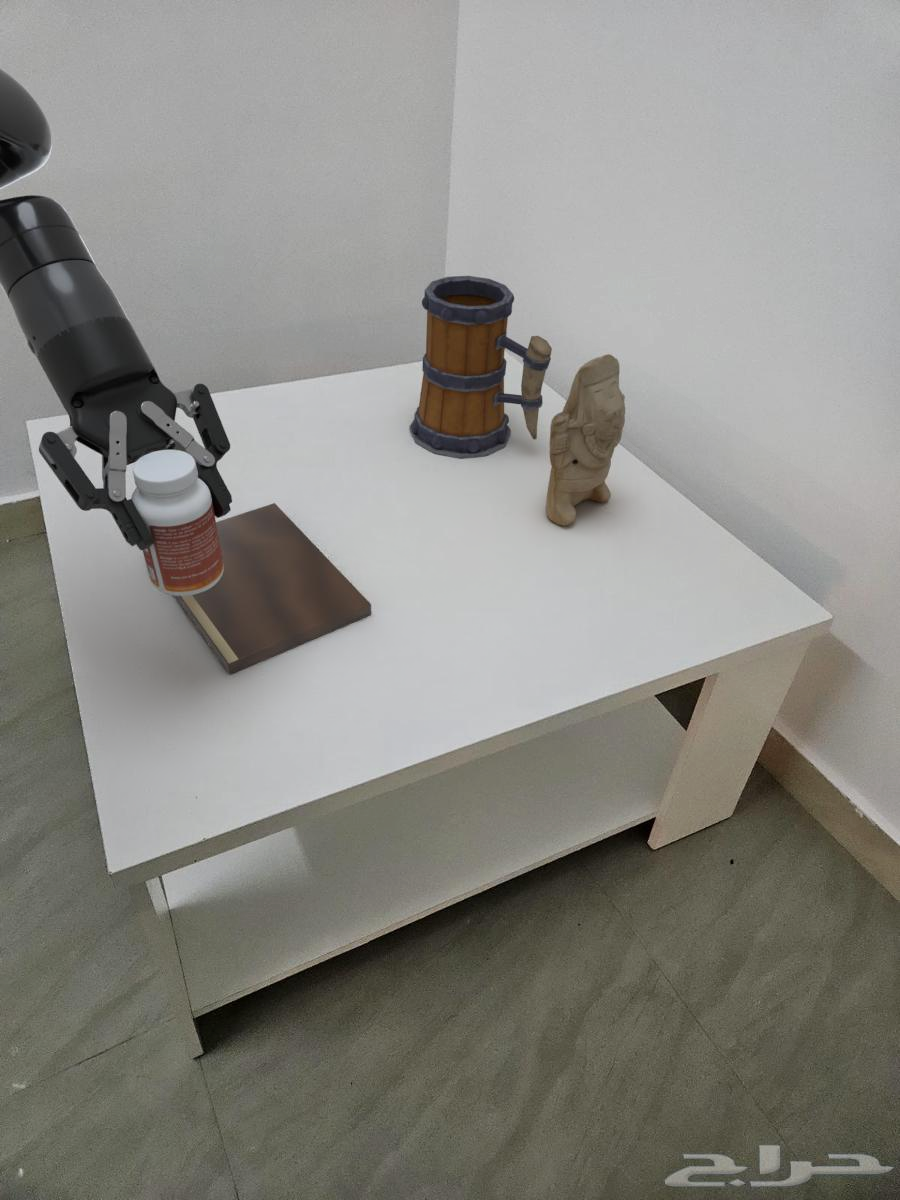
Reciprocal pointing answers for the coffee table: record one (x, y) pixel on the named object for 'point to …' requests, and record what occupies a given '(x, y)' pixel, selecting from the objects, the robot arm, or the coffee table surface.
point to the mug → (473, 369)
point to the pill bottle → (177, 523)
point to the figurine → (585, 439)
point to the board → (270, 591)
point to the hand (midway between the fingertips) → (186, 529)
